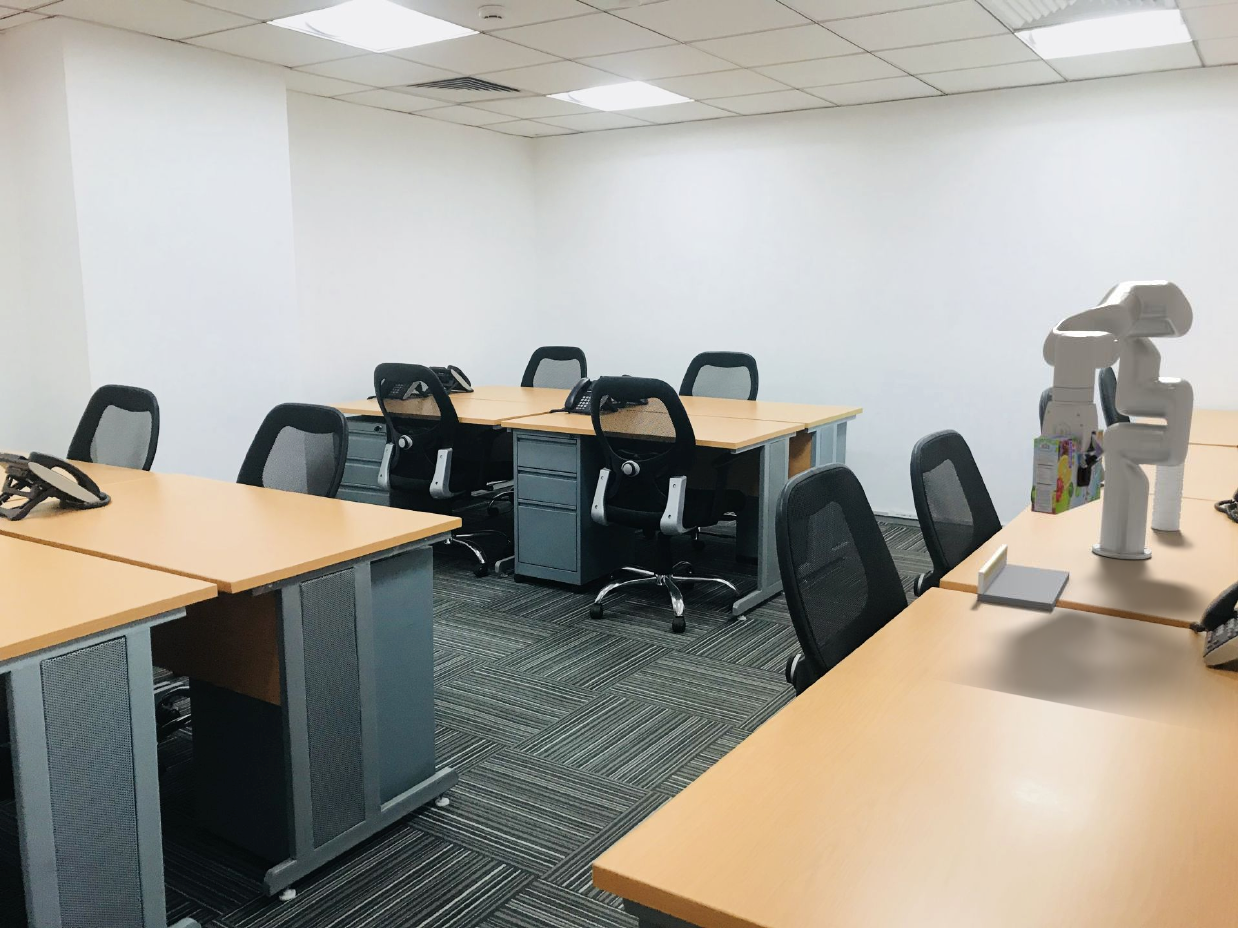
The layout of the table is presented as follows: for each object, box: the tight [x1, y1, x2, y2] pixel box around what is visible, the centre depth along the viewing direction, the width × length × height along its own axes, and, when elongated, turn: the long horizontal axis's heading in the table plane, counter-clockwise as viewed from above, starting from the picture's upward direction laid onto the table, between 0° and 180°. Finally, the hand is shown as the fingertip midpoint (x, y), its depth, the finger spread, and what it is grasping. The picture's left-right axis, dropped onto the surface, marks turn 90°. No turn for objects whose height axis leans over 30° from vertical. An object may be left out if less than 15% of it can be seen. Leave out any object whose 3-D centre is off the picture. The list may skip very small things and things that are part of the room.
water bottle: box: [1150, 459, 1186, 532], centre depth 250 cm, size 9×6×25 cm
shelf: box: [976, 543, 1071, 612], centre depth 199 cm, size 26×14×6 cm, turn 148°
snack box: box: [1030, 428, 1105, 516], centre depth 192 cm, size 21×6×15 cm, turn 132°
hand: (1067, 482), depth 192 cm, fingers closed on snack box, 6 cm apart
